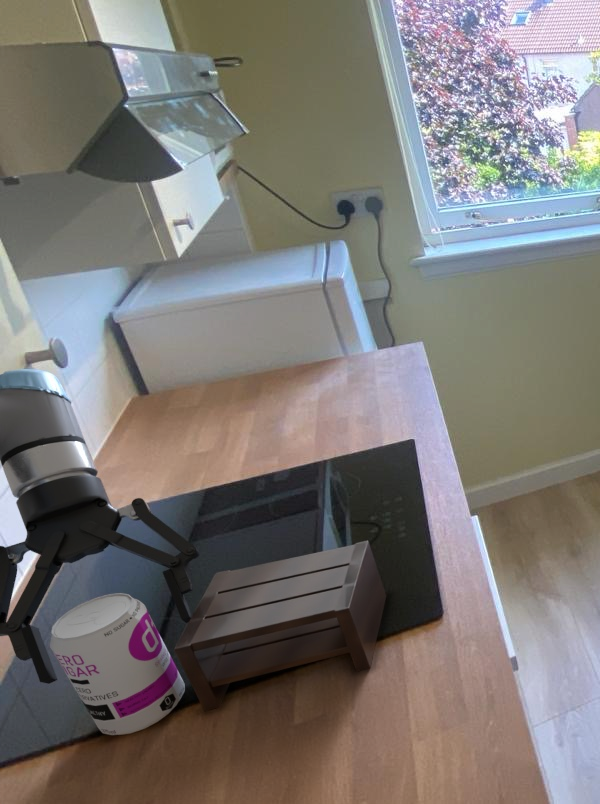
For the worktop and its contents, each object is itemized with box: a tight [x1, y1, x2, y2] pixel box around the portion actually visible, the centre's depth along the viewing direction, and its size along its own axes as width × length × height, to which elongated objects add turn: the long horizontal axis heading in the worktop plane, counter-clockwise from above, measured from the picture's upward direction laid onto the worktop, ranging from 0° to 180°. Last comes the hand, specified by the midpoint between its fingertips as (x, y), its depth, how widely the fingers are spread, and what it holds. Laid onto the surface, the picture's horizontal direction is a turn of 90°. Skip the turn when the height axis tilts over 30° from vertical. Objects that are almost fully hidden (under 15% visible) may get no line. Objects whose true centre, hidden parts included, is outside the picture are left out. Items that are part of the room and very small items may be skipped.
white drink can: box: [49, 592, 186, 736], centre depth 86 cm, size 8×8×15 cm
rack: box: [173, 540, 387, 712], centre depth 95 cm, size 18×14×10 cm
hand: (121, 649), depth 86 cm, fingers open, 12 cm apart
